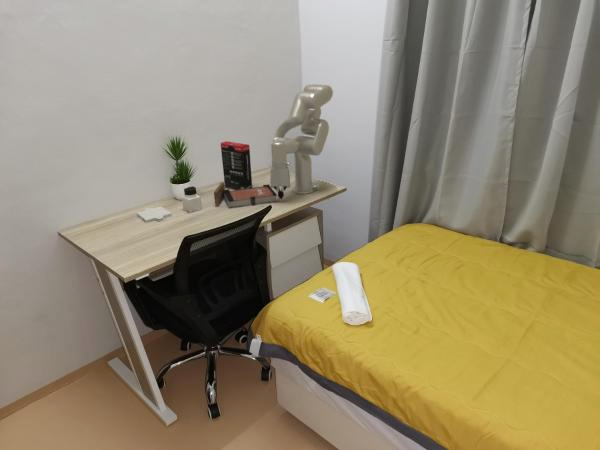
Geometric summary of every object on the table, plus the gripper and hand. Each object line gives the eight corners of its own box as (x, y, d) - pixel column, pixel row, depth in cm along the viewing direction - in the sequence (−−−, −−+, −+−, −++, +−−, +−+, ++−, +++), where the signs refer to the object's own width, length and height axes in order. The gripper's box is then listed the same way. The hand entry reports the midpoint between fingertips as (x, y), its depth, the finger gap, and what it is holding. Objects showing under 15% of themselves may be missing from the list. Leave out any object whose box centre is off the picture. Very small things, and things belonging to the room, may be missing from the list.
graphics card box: (253, 189, 237) (250, 143, 226) (246, 192, 231) (242, 146, 220) (231, 184, 245) (227, 140, 234) (223, 187, 240) (219, 142, 229)
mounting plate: (135, 214, 205) (134, 211, 204) (160, 208, 212) (159, 204, 211) (148, 225, 192) (147, 221, 191) (174, 218, 200) (173, 214, 199)
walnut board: (225, 195, 227) (224, 182, 224) (218, 206, 212) (216, 192, 208) (222, 195, 227) (221, 182, 224) (215, 206, 212) (213, 192, 209)
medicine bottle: (202, 208, 209) (199, 187, 204) (190, 212, 205) (187, 190, 200) (194, 205, 214) (191, 184, 209) (183, 209, 209) (179, 187, 204)
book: (229, 209, 209) (228, 200, 207) (223, 198, 224) (223, 190, 222) (277, 202, 216) (277, 194, 214) (269, 192, 231) (268, 184, 229)
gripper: (294, 163, 211) (295, 195, 219) (266, 163, 212) (268, 195, 220) (293, 167, 204) (294, 200, 212) (264, 167, 205) (266, 200, 213)
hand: (280, 197), depth 216 cm, fingers closed
